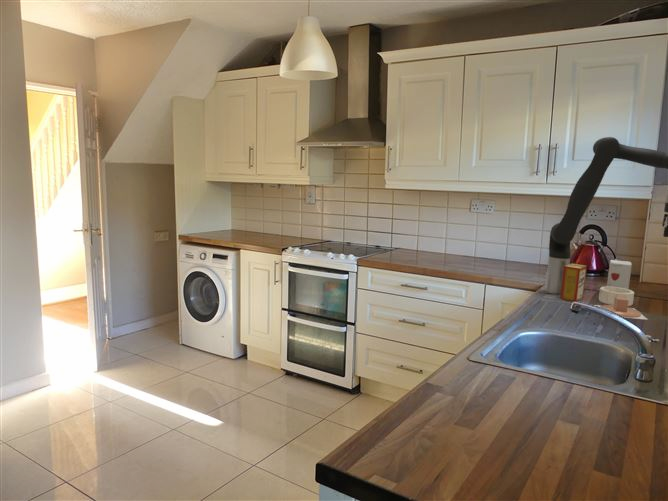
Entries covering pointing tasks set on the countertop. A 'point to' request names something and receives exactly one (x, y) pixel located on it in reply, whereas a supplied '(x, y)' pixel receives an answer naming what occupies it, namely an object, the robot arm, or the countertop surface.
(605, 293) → the bowl
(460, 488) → the countertop surface
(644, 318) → the mat
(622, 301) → the lid
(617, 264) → the supplement box
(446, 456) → the countertop surface
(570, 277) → the baking soda box
